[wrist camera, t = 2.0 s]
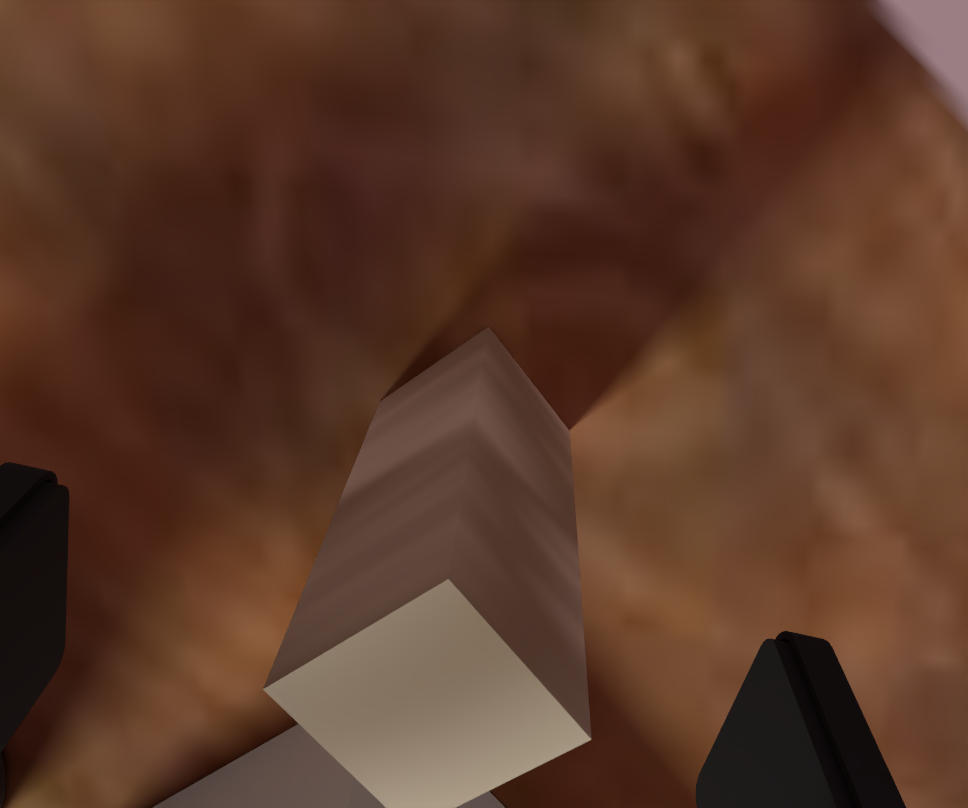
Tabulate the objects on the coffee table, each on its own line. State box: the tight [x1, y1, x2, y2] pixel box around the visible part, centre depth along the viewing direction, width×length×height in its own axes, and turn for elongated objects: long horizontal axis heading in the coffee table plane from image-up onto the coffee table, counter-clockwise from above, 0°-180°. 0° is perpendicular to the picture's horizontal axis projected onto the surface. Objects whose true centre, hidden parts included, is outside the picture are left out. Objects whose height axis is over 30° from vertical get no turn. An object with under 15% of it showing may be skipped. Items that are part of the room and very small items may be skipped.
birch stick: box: [263, 326, 592, 808], centre depth 15 cm, size 3×3×9 cm
